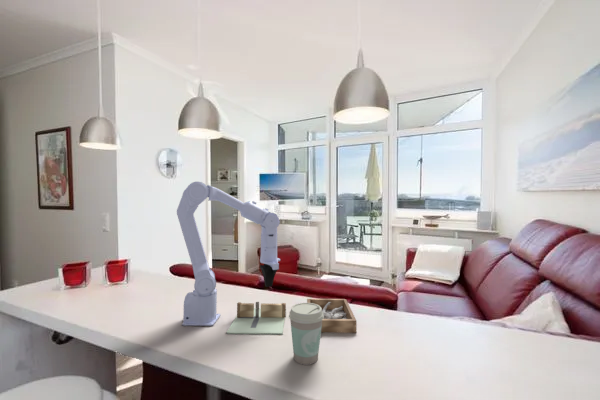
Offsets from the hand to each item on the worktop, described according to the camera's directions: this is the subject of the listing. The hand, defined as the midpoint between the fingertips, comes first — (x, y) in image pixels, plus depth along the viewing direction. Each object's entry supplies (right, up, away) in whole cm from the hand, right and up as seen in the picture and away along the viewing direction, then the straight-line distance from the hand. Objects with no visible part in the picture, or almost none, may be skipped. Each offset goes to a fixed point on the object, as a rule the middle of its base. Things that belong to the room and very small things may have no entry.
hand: (268, 286), depth 92 cm
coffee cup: (+12, -9, -27) cm, 31 cm away
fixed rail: (-6, -8, -5) cm, 12 cm away
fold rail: (+2, -8, -5) cm, 10 cm away
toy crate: (+20, -9, -5) cm, 23 cm away
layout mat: (-2, -9, -7) cm, 11 cm away
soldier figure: (+21, -9, -7) cm, 24 cm away
